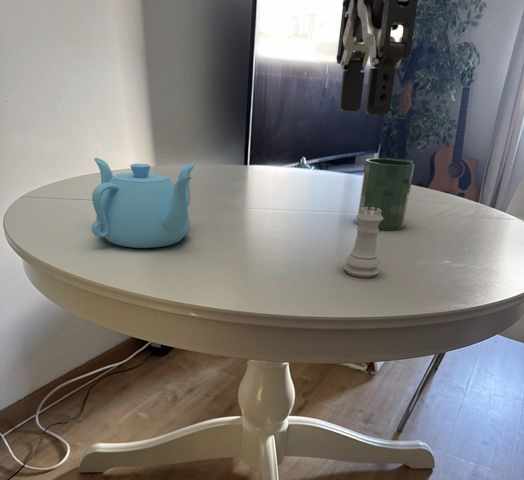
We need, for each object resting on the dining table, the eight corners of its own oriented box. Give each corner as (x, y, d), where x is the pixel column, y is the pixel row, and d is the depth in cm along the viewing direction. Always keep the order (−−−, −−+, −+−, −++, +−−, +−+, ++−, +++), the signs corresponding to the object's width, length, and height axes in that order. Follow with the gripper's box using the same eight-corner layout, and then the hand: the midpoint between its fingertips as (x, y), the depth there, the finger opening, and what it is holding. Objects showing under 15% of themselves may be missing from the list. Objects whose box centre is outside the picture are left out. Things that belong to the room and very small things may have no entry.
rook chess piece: (384, 272, 62) (395, 209, 58) (370, 281, 59) (381, 215, 55) (352, 264, 64) (361, 203, 60) (337, 272, 61) (346, 209, 57)
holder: (376, 217, 90) (386, 157, 85) (411, 227, 85) (424, 164, 80) (347, 221, 86) (356, 159, 81) (382, 232, 80) (394, 166, 75)
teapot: (80, 252, 63) (69, 170, 58) (103, 223, 76) (95, 154, 71) (193, 255, 65) (191, 175, 60) (196, 226, 78) (195, 158, 73)
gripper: (471, -124, 35) (426, 118, 43) (397, -70, 48) (372, 111, 56) (375, -136, 34) (346, 114, 42) (325, -78, 47) (310, 108, 55)
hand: (361, 112), depth 49 cm, fingers open, 8 cm apart
